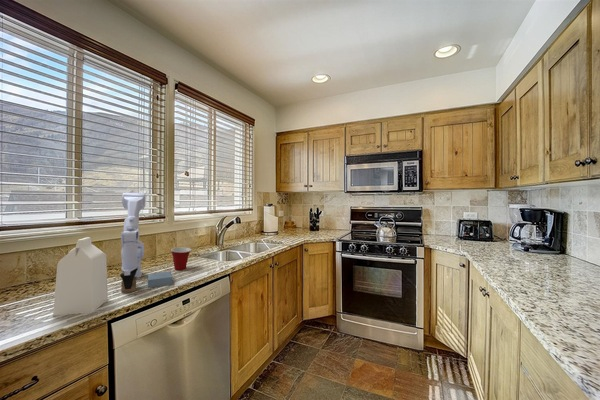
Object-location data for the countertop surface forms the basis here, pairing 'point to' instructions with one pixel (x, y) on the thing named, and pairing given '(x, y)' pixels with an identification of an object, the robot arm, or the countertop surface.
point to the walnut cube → (131, 287)
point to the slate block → (159, 279)
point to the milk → (81, 280)
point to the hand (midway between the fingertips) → (129, 286)
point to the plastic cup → (180, 257)
